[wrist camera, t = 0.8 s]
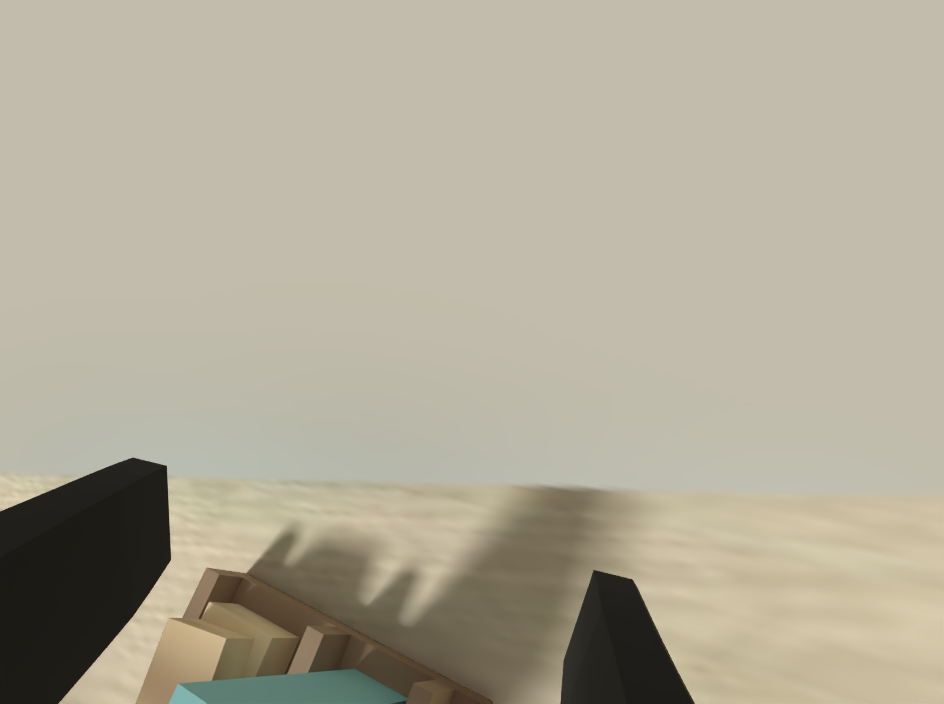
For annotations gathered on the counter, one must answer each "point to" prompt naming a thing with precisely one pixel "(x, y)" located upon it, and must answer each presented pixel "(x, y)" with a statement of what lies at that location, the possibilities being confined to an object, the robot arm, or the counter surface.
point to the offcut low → (269, 643)
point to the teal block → (290, 690)
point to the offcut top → (193, 657)
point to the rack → (328, 640)
